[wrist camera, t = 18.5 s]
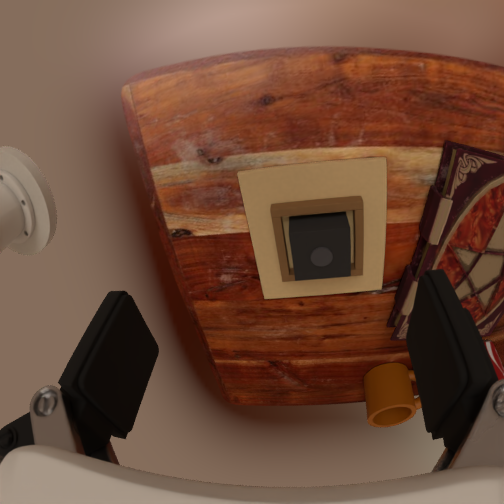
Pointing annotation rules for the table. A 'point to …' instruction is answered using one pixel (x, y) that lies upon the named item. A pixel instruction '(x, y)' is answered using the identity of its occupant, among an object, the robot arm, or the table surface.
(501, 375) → the soda can
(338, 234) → the black square block
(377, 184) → the base pad
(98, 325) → the robot arm
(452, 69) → the table surface
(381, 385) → the mug
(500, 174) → the book
